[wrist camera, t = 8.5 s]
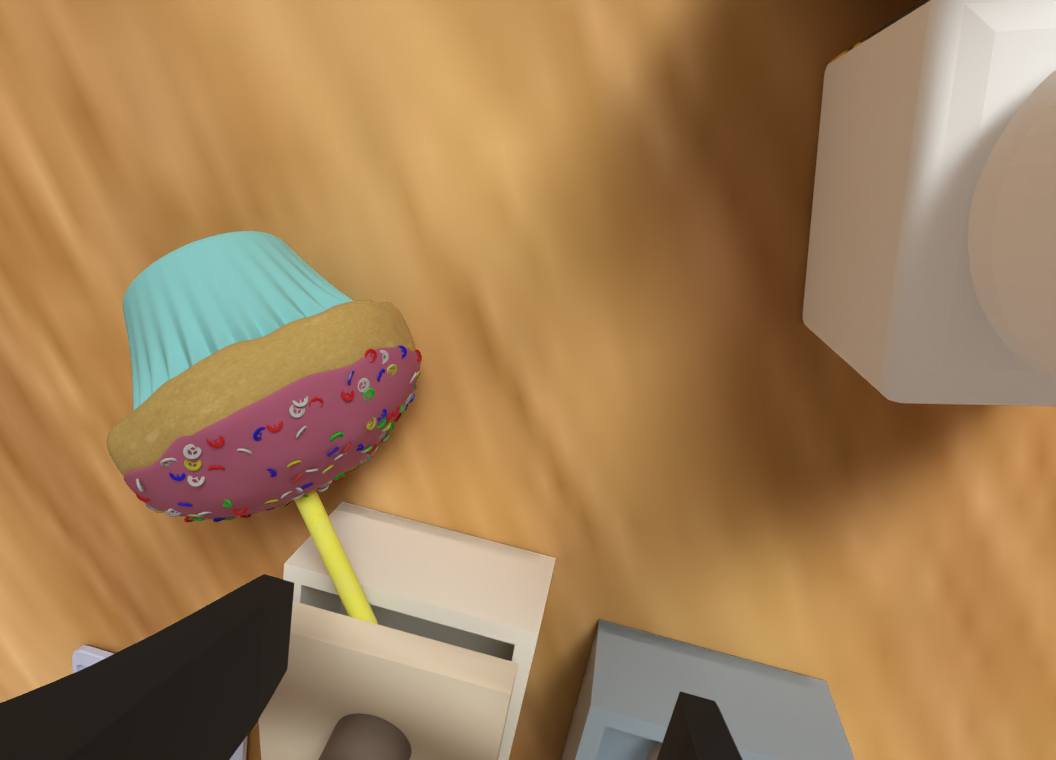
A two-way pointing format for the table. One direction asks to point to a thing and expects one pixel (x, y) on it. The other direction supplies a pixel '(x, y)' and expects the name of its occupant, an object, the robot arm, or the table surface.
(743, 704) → the slate pot
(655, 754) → the terracotta ball
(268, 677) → the robot arm
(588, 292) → the table surface
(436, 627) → the cream pot
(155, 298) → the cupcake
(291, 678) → the lid
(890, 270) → the medicine bottle
